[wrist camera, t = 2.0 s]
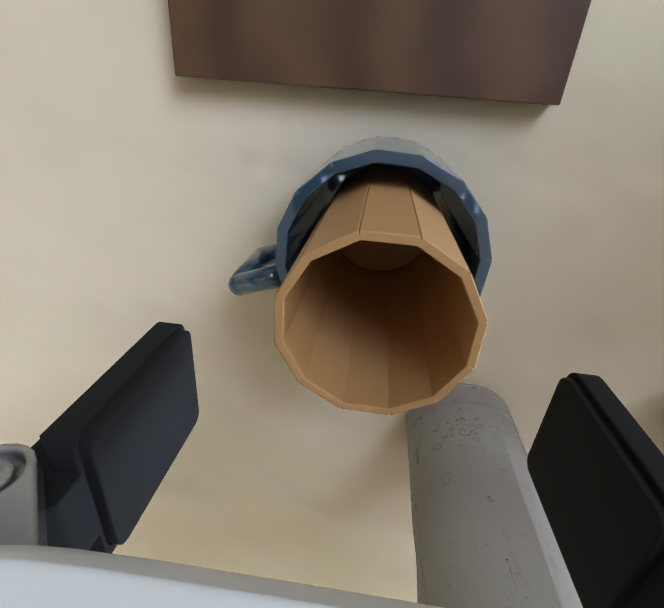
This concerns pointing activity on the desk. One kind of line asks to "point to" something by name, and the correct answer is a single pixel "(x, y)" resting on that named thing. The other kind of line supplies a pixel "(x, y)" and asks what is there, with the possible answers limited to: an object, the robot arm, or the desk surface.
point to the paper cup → (380, 299)
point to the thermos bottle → (479, 510)
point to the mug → (324, 183)
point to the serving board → (385, 45)
